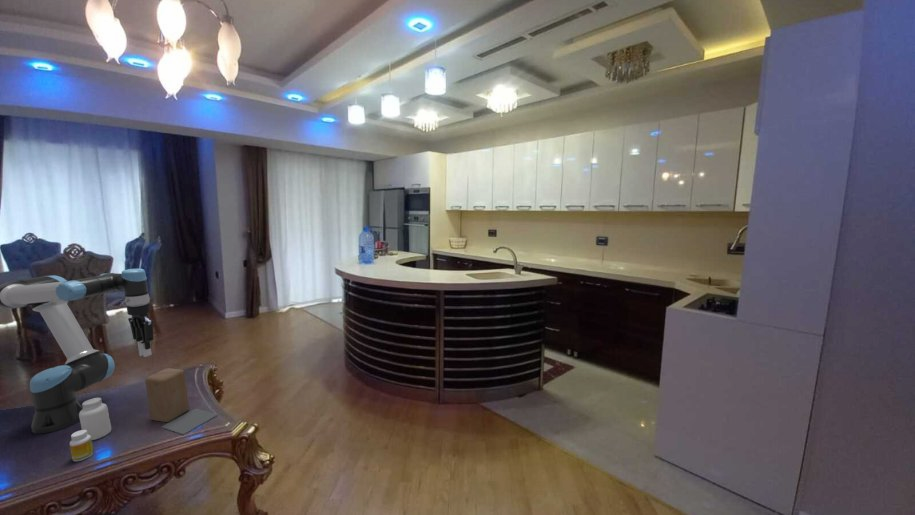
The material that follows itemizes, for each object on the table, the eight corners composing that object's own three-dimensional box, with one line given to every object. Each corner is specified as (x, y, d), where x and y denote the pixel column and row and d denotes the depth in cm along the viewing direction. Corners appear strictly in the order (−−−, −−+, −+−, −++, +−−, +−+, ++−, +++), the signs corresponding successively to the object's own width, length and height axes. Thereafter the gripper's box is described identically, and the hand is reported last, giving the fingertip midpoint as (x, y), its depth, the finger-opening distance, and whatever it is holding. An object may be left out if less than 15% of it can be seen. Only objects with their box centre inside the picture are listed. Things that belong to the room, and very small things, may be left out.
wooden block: (168, 423, 148) (162, 380, 145) (149, 420, 150) (143, 377, 147) (190, 410, 158) (185, 369, 155) (172, 407, 160) (167, 367, 157)
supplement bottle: (93, 456, 129) (89, 432, 127) (72, 464, 125) (67, 439, 123) (93, 449, 132) (89, 426, 131) (72, 456, 129) (68, 433, 127)
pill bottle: (91, 431, 143) (85, 397, 141) (115, 426, 146) (110, 394, 144) (78, 443, 136) (71, 408, 133) (104, 438, 139) (98, 404, 136)
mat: (161, 427, 145) (161, 426, 145) (196, 409, 158) (196, 408, 158) (183, 435, 141) (183, 434, 141) (217, 415, 154) (217, 414, 154)
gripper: (116, 304, 150) (124, 356, 153) (138, 308, 144) (146, 361, 148) (137, 300, 157) (144, 349, 160) (159, 303, 151) (166, 354, 155)
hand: (145, 355), depth 154 cm, fingers open, 2 cm apart
